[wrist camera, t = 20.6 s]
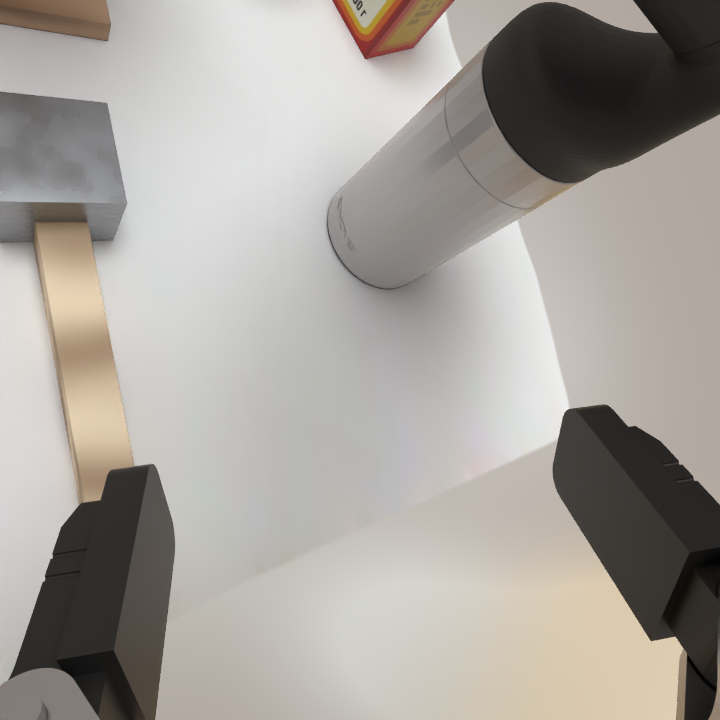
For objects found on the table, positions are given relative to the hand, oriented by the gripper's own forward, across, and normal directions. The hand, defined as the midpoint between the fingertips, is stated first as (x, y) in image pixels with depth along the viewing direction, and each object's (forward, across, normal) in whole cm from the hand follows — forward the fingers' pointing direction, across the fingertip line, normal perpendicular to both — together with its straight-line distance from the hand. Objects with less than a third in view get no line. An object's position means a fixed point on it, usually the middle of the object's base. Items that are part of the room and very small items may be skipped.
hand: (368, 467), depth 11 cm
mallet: (+23, +13, +8) cm, 28 cm away
